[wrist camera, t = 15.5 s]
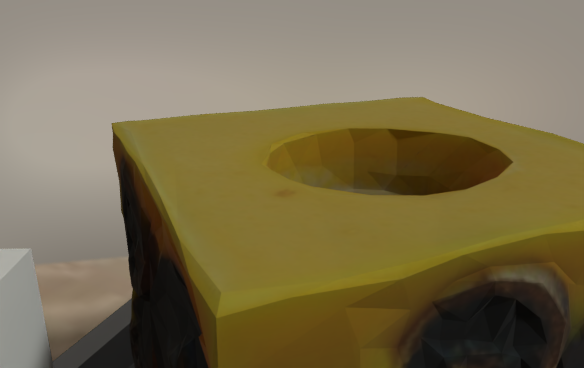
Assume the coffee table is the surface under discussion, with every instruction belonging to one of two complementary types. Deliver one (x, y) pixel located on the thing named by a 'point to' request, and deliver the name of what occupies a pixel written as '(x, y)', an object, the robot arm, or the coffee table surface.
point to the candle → (352, 239)
